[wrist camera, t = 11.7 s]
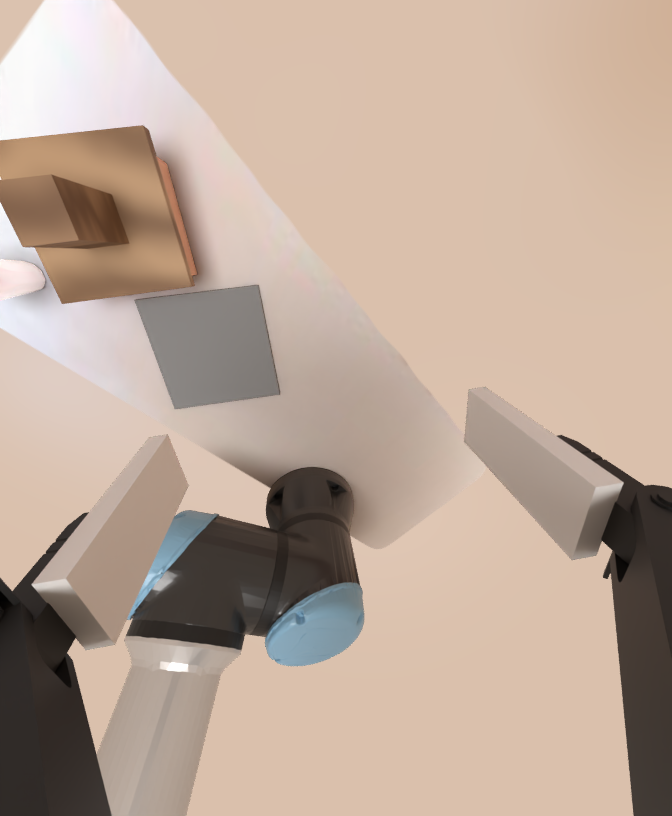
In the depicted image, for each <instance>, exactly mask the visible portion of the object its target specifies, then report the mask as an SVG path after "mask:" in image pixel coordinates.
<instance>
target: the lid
mask: <svg viewBox="0 0 672 816" xmlns="http://www.w3.org/2000/svg"><path fill="white" fill-rule="evenodd" d="M0 177H1V179H2V180H0V202H1V204H2V206H3V208H4V210H5V212H6V214H7V216H8V218H9V220H10V222H11V224H12V226H13V228H14V230H15V232H16V234H17V236H18V238H19V240H20V242H21V244H22V246H23V247H35V249H36V251H37V253H38V255H39V257H40V259H41V261H42V263H43V265H44V268H45V270H46V272H47V274H48V276H49V278H50V280H51V282H52V284H53V286H54V288H55V290H56V292H57V294H58V296H59V298H60V301H61V303H62V304H65V303H73V302H80V301H88V300H95V299H103V298H110V297H118V296H125V295H133V294H140V293H147V292H155V291H162V290H170V289H177V288H185V287H192V286H195V284H194V281H193V278H192V274H191V271H190V268H189V264H188V261H187V257H186V254H185V251H184V247H183V244H182V241H181V237H180V234H179V231H178V227H177V224H176V220H175V217H174V214H173V210H172V207H171V204H170V200H169V197H168V193H167V190H166V187H165V183H164V180H163V177H162V173H161V170H160V166H159V163H158V160H157V156H156V153H155V150H154V146H153V143H152V140H151V136H150V133H149V130H148V129H147V128H145V127H144V126H143V125H142V126H132V127H123V128H114V129H104V130H95V131H85V132H76V133H67V134H57V135H48V136H39V137H29V138H20V139H10V140H1V141H0Z"/></svg>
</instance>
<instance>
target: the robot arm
mask: <svg viewBox="0 0 672 816" xmlns="http://www.w3.org/2000/svg"><path fill="white" fill-rule="evenodd" d="M464 442H465V443H466V444H467V445H468V446H469V447H470V449H471V450H472V451H473V452H474V453H475V454H476V455H477V456H478V457H479V458H480V460H481V461H482V462H483V463H484V464H485V465H486V466H487V467H488V468H489V469H490V471H491V472H492V473H493V474H494V475H495V476H496V477H497V478H498V479H499V480H500V482H501V483H502V484H503V485H504V486H505V487H506V488H507V489H508V490H509V491H510V493H511V494H512V495H513V496H514V497H515V498H516V499H517V500H518V501H519V503H520V504H521V505H522V506H523V507H524V508H525V509H526V510H527V511H528V512H529V513H530V515H531V516H532V517H533V518H534V519H535V520H536V521H537V522H538V523H539V525H541V527H542V528H543V529H544V530H545V531H546V532H547V533H548V534H549V536H550V537H551V538H552V539H553V540H554V541H555V542H556V543H557V544H558V545H559V546H560V548H561V549H562V550H563V551H564V552H565V553H566V554H567V555H568V556H569V558H571V560H575V559H581V558H586V557H591V556H596V555H597V552H598V550H599V547H600V544H601V542H602V541H603V542H604V543H605V544H606V545H607V546H608V547H609V548H611V549H612V550H613V551H612V554H611V556H610V559H609V561H608V564H607V566H606V569H605V571H604V575H603V578H606V579H608V577H609V574H610V573H611V579H612V589H613V600H614V611H615V621H616V632H617V643H618V653H619V664H620V675H621V685H622V696H623V707H624V717H625V728H626V737H627V749H628V760H629V771H630V781H631V792H632V803H633V813H634V816H672V488H669V487H665V486H657V485H647V486H644V485H643V484H641V483H640V482H638V481H637V480H635V479H634V478H632V477H631V476H629V475H628V474H626V473H625V472H623V471H621V470H620V469H619V468H617V467H616V466H614V465H613V464H611V463H610V462H608V461H607V460H603V459H602V457H600V456H599V455H597V454H596V453H594V452H591V450H590V449H588V448H587V447H585V446H584V445H582V444H581V443H579V442H577V441H575V440H572V439H570V438H567V437H565V436H562V435H559V436H555V435H554V434H553V433H551V432H550V431H548V430H547V429H545V428H544V427H543V426H541V425H540V424H538V423H537V422H535V421H534V420H532V419H531V418H530V417H528V416H527V415H525V414H524V413H522V412H521V411H519V410H518V409H517V408H515V407H514V406H512V405H510V404H509V403H508V402H506V401H505V400H504V399H502V398H501V397H499V396H498V395H496V394H495V393H493V392H492V391H490V390H489V389H488V388H486V387H482V388H475V389H469V392H468V403H467V416H466V427H465V439H464ZM187 488H188V483H187V481H186V478H185V476H184V473H183V471H182V468H181V466H180V463H179V461H178V458H177V456H176V454H175V451H174V449H173V446H172V444H171V441H170V439H169V436H168V435H162V436H154V437H149V438H148V440H147V441H146V442H145V443H144V445H143V446H142V447H141V448H140V450H139V451H138V452H137V454H136V455H135V456H134V457H133V458H132V460H131V461H130V462H129V463H128V465H127V466H126V467H125V468H124V470H123V471H122V472H121V473H120V475H119V476H118V477H117V478H116V480H115V481H114V482H113V483H112V485H111V486H110V487H109V488H108V490H107V491H106V492H105V493H104V494H103V496H102V497H101V498H100V499H99V501H98V502H97V503H96V505H95V506H94V507H93V508H92V510H91V511H90V512H88V513H84V514H82V515H81V516H79V517H78V518H77V519H76V520H74V521H73V522H72V523H71V524H69V525H68V526H67V527H66V528H65V529H64V531H63V532H62V533H61V534H60V535H59V537H58V538H57V539H56V542H55V543H53V544H52V545H51V546H50V547H49V549H48V550H47V551H46V554H44V555H43V556H42V557H41V558H40V559H39V560H38V562H37V563H36V564H35V565H34V566H33V568H32V569H31V570H30V571H29V572H28V573H27V575H26V576H25V577H24V578H23V579H22V581H21V582H20V583H19V584H18V585H17V587H16V588H15V589H14V590H13V591H11V589H10V588H9V587H8V586H7V585H6V584H5V583H4V582H3V580H2V579H1V578H0V816H186V814H187V810H188V805H189V802H190V797H191V793H192V789H193V785H194V781H195V777H196V773H197V769H198V765H199V761H200V757H201V753H202V749H203V745H204V741H205V737H206V733H207V728H208V724H209V720H210V716H211V712H212V708H213V704H214V700H215V696H216V692H217V688H218V684H219V680H220V676H221V674H222V672H223V671H224V669H225V668H226V667H227V666H228V665H229V664H231V663H232V662H233V661H234V660H235V659H236V658H237V657H238V656H239V655H240V654H241V649H242V645H243V641H244V636H245V634H249V635H256V636H262V637H266V638H265V647H266V649H267V653H268V655H269V657H270V658H271V659H272V660H274V659H275V661H276V662H277V663H279V664H282V665H286V666H305V665H311V664H315V663H318V662H321V661H324V660H327V659H329V658H331V657H333V656H335V655H337V654H339V653H341V652H342V651H344V650H345V649H346V648H348V647H349V646H350V645H351V644H352V643H353V642H354V641H355V640H356V638H357V637H358V636H359V634H360V632H361V630H362V627H363V624H364V608H363V600H362V588H361V586H360V583H359V578H358V573H357V569H356V563H355V558H354V553H353V548H352V544H351V539H350V534H349V531H350V526H351V521H352V516H353V511H354V501H353V497H352V493H351V489H350V487H349V485H348V484H347V482H346V481H345V480H344V479H343V478H342V477H341V476H339V475H338V474H336V473H334V472H332V471H329V470H326V469H322V468H303V469H298V470H295V471H292V472H290V473H288V474H286V475H284V476H283V477H281V478H280V479H279V480H278V481H277V482H276V483H275V484H274V485H273V486H272V488H271V489H270V491H269V494H268V497H267V505H266V516H267V520H268V523H269V526H270V528H266V527H262V526H258V525H254V524H250V523H246V522H242V521H237V520H233V519H230V518H226V517H222V516H219V514H208V513H202V512H197V511H191V510H188V511H183V512H181V513H179V514H177V515H176V516H175V514H176V511H177V509H178V507H179V505H180V503H181V501H182V499H183V497H184V494H185V492H186V490H187ZM131 618H133V620H132V623H131V625H130V628H129V630H128V632H127V634H126V637H125V640H124V641H125V644H126V646H127V648H128V652H129V654H130V657H131V664H132V665H131V668H130V671H129V673H128V676H127V678H126V681H125V683H124V686H123V689H122V691H121V694H120V696H119V699H118V701H117V704H116V706H115V709H114V712H113V714H112V717H111V719H110V722H109V724H108V727H107V729H106V732H105V735H104V737H103V740H102V742H101V745H100V747H99V750H98V752H97V755H96V751H95V747H94V743H93V739H92V735H91V731H90V727H89V724H88V720H87V715H86V711H85V708H84V704H83V700H82V696H81V692H80V688H79V684H78V680H77V676H76V672H75V668H74V664H73V660H72V659H71V658H70V656H69V655H68V654H67V652H68V650H69V648H70V646H71V645H72V643H73V641H74V640H75V638H76V639H77V640H78V641H79V643H80V644H81V645H82V646H83V647H84V648H85V650H90V649H95V648H100V647H106V646H111V645H115V643H116V641H117V639H118V637H119V635H120V633H121V631H122V629H123V626H124V624H125V622H126V620H131Z"/></svg>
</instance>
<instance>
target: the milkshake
mask: <svg viewBox="0 0 672 816" xmlns="http://www.w3.org/2000/svg"><path fill="white" fill-rule="evenodd" d="M45 281H46V280H45V277H44V275H43V272H42V271H41V270H40V269H39V268H38V267H36V266H35V265H34V264H33V263H29V262H25V261H18V260H5V259H0V301H2V300H5V299H8V298H12V297H16V296H20V295H24V294H28V293H32V292H36V291H38V290H40V289H43V288H44V284H45Z"/></svg>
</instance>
